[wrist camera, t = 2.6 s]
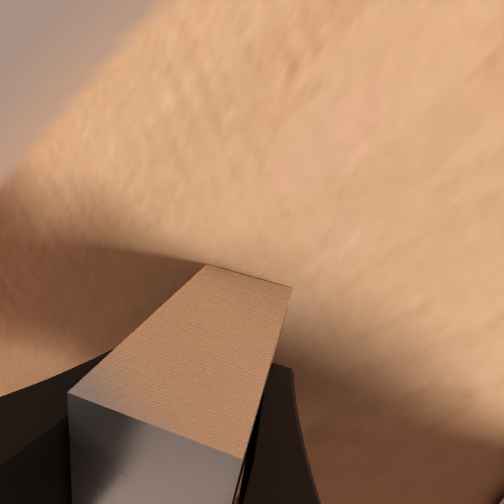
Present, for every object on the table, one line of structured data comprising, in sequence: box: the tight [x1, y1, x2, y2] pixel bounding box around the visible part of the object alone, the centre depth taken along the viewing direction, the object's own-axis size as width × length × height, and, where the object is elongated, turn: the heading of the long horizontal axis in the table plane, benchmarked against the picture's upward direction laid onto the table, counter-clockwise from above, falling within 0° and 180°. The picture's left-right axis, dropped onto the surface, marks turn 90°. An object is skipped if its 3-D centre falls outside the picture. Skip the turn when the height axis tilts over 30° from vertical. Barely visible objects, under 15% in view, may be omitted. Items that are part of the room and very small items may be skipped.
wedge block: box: [67, 264, 292, 504], centre depth 8 cm, size 3×5×6 cm, turn 169°
